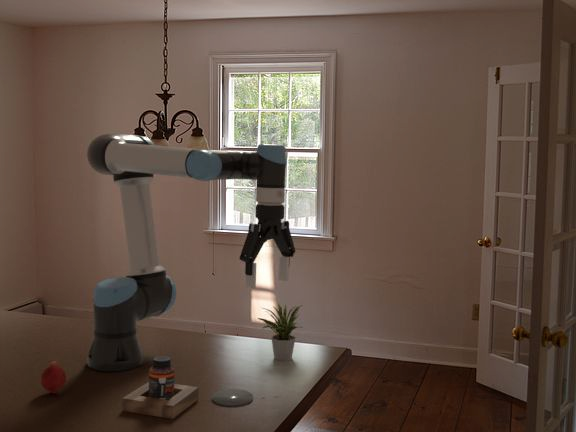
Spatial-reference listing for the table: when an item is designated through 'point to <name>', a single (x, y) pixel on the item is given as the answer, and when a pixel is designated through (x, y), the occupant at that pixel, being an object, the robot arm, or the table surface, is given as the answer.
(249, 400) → the grey domed disc
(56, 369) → the onion
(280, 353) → the house plant
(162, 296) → the robot arm
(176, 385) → the pocket holder
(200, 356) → the table surface
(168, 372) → the supplement bottle
